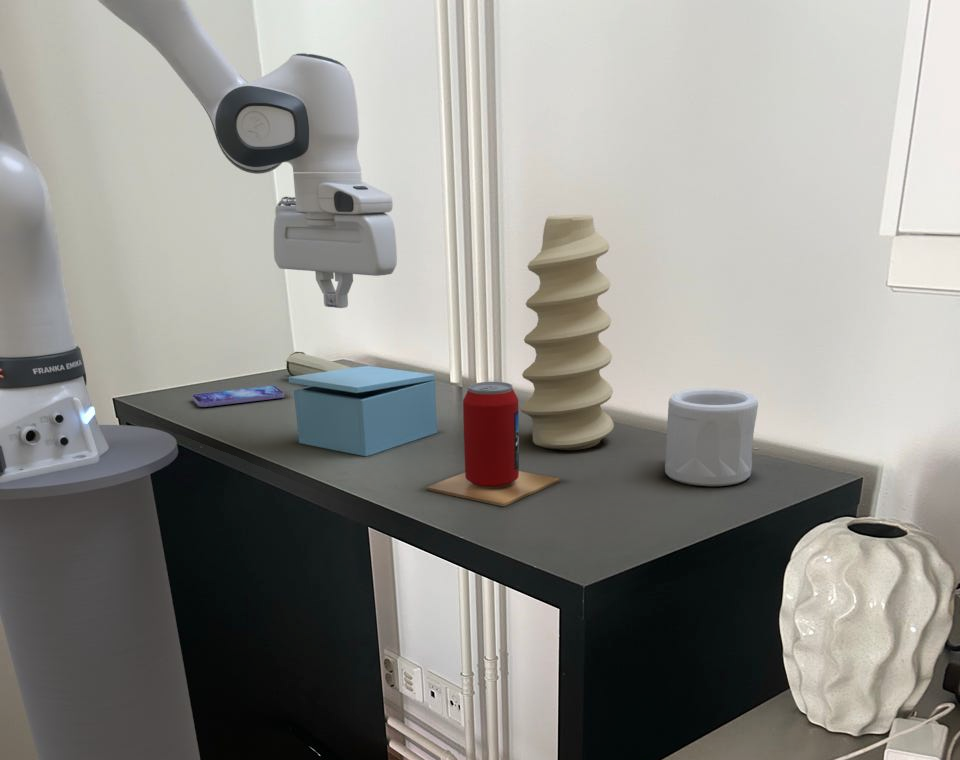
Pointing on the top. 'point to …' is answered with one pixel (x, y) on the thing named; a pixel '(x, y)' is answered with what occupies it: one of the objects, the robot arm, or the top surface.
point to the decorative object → (569, 337)
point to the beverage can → (491, 434)
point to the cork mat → (496, 496)
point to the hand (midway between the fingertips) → (336, 307)
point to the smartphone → (237, 396)
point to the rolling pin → (310, 364)
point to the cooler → (365, 417)
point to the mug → (710, 436)
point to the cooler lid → (361, 379)
